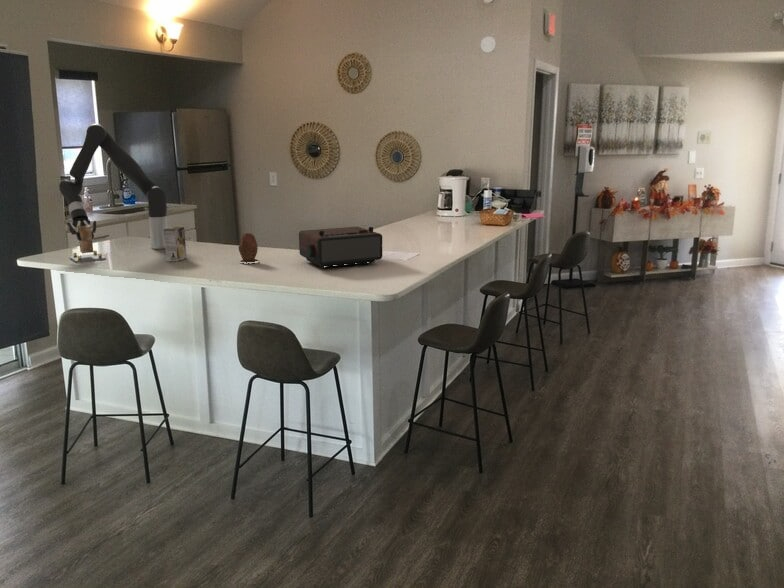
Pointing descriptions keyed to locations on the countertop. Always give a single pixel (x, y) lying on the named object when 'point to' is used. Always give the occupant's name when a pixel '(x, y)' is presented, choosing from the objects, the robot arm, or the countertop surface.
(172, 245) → the coffee box
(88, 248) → the walnut block
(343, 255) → the radio receiver
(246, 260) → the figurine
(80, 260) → the dock
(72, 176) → the robot arm
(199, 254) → the countertop surface
